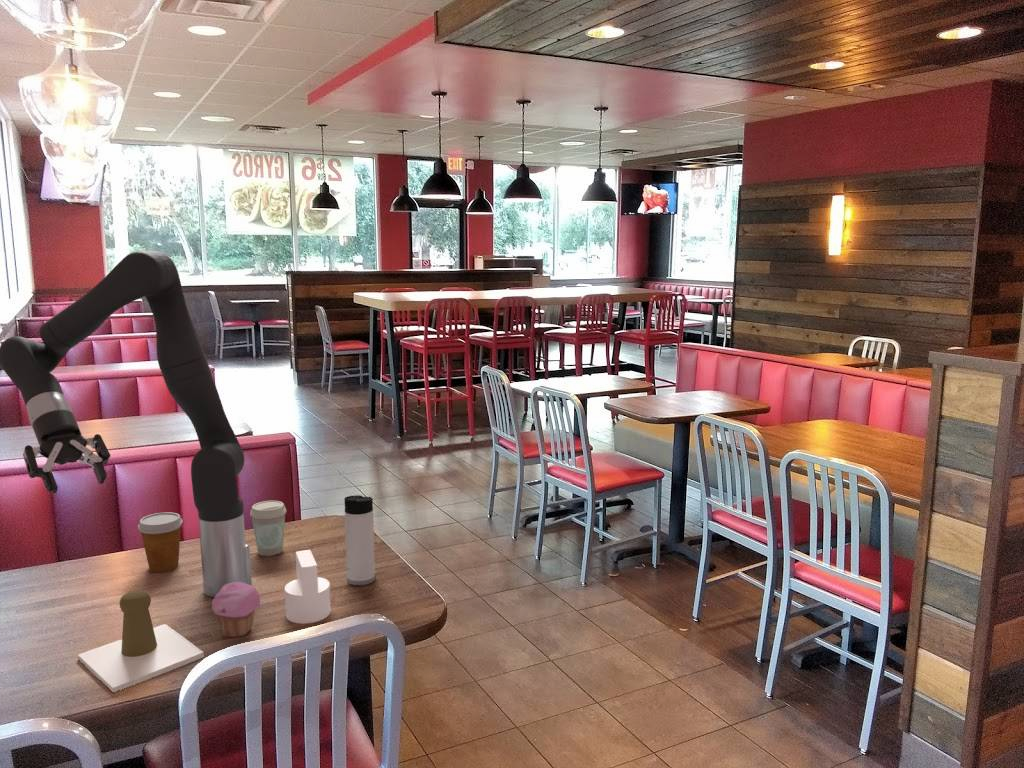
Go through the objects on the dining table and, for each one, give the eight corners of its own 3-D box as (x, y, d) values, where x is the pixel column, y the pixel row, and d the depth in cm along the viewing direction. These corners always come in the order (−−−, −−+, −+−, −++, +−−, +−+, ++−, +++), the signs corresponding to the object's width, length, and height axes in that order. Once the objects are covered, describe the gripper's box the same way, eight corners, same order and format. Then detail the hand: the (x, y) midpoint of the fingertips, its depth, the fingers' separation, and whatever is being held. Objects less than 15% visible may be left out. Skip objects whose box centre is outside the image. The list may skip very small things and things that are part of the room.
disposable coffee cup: (194, 564, 185) (190, 516, 183) (157, 578, 177) (153, 528, 175) (169, 555, 190) (166, 508, 188) (133, 569, 182) (128, 520, 180)
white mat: (165, 628, 154) (165, 623, 154) (203, 657, 144) (203, 652, 144) (78, 659, 143) (77, 654, 143) (113, 693, 132) (112, 687, 132)
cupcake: (227, 620, 158) (224, 574, 156) (268, 622, 157) (266, 576, 155) (206, 642, 149) (202, 593, 147) (249, 645, 148) (246, 596, 146)
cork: (143, 658, 141) (138, 601, 139) (113, 655, 142) (108, 598, 140) (164, 641, 147) (159, 587, 145) (135, 638, 148) (130, 584, 146)
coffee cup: (247, 558, 189) (244, 511, 187) (258, 545, 197) (256, 499, 195) (282, 558, 189) (280, 511, 187) (292, 545, 197) (290, 499, 195)
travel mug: (340, 583, 175) (337, 498, 171) (357, 572, 181) (354, 490, 177) (364, 588, 173) (361, 502, 169) (380, 576, 179) (378, 493, 175)
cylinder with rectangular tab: (283, 607, 164) (280, 553, 161) (326, 600, 167) (324, 547, 165) (289, 626, 155) (286, 570, 153) (334, 618, 159) (332, 563, 157)
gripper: (15, 414, 149) (41, 484, 144) (94, 403, 160) (121, 468, 154) (9, 436, 154) (35, 505, 148) (87, 424, 164) (113, 488, 159)
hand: (79, 486), depth 151 cm, fingers open, 8 cm apart
